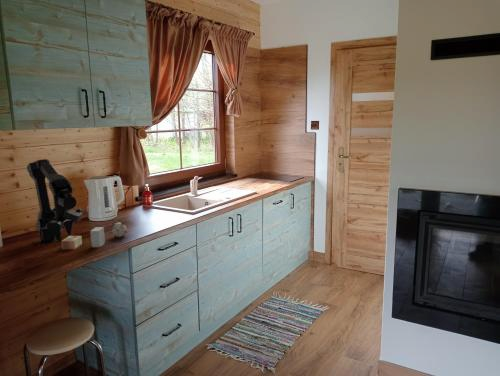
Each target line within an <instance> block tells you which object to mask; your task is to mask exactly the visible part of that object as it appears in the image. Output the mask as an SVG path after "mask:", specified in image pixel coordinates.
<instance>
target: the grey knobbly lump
mask: <svg viewBox="0 0 500 376" xmlns="http://www.w3.org/2000/svg"><path fill="white" fill-rule="evenodd" d="M128 227H129V226H128V225H126V224H124V222H121V220H118V222H115V223H114V222H113V223H112V226H111V231H110V234H113V235H114V237H117V238H118V240H119V239H120V238H121V237H123V236H124V237H125V236H126V234H127V233H128V231H127V229H128Z"/></svg>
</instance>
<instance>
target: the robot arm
mask: <svg viewBox="0 0 500 376" xmlns="http://www.w3.org/2000/svg"><path fill="white" fill-rule="evenodd" d="M26 171H27V172H28V174H29V177H30V178H31V179H32V180H33V181H34V184H35V191H36V195H37V196H36V197H37V201H38V206H39V212H38V214H37V220H36V223H35V228H36V230H37V231H38V232H39V237H40V240H39V241H38V243H53V242H54V241H57V242H59V243H60V242H61V241H62V231H63V229H65V231H66V233H67V234H66V235H68V236H72V231H73V226H74V223H78V222H79V221H82V217H83V216H84V213H83V210H82V208H76V210H75V209H74V208H75V207H76V205H77V200H76V198H75V197H74V196H72V193H73V187H72V185H71V183H70V181H69V180H68V179H67V177H66V176H64V175H62V174H59V173H58V171H56V169H55V167H53V166H52V164H51V163H50V161H49V159H47V158H44V159H37V160H36V161H33V162H29V163H28V165H27V166H26ZM46 179H47V180H48V187H49V190H50V192H51V194H52V198H53V206H54V208H52V207H51V202H50V198H49V193H48V187H47V183H46Z"/></svg>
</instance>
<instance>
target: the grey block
mask: <svg viewBox="0 0 500 376" xmlns="http://www.w3.org/2000/svg"><path fill="white" fill-rule="evenodd" d="M105 237H106V236H105V227H104V226H103V227H102V226H100V227H98V226H97V227H96V226H95V227H94V228H93V229H91V230H90V240H91V242H90V243H91V248H101V247H102V246H103V245H104V244H106V238H105ZM100 246H101V247H100Z"/></svg>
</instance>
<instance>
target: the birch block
mask: <svg viewBox="0 0 500 376" xmlns="http://www.w3.org/2000/svg"><path fill="white" fill-rule="evenodd" d="M60 244H61V250H75V249H77V248H79V247H80V246H81V245H82V244H83V237H82V235H68V236H67V237H65V238H64V239H61V243H60Z"/></svg>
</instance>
